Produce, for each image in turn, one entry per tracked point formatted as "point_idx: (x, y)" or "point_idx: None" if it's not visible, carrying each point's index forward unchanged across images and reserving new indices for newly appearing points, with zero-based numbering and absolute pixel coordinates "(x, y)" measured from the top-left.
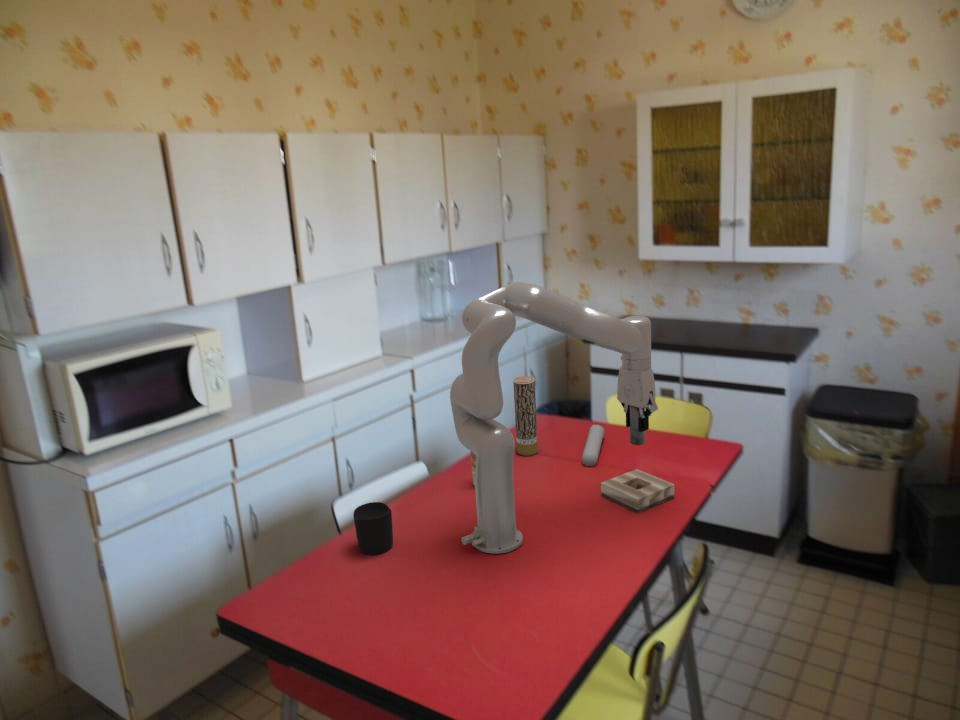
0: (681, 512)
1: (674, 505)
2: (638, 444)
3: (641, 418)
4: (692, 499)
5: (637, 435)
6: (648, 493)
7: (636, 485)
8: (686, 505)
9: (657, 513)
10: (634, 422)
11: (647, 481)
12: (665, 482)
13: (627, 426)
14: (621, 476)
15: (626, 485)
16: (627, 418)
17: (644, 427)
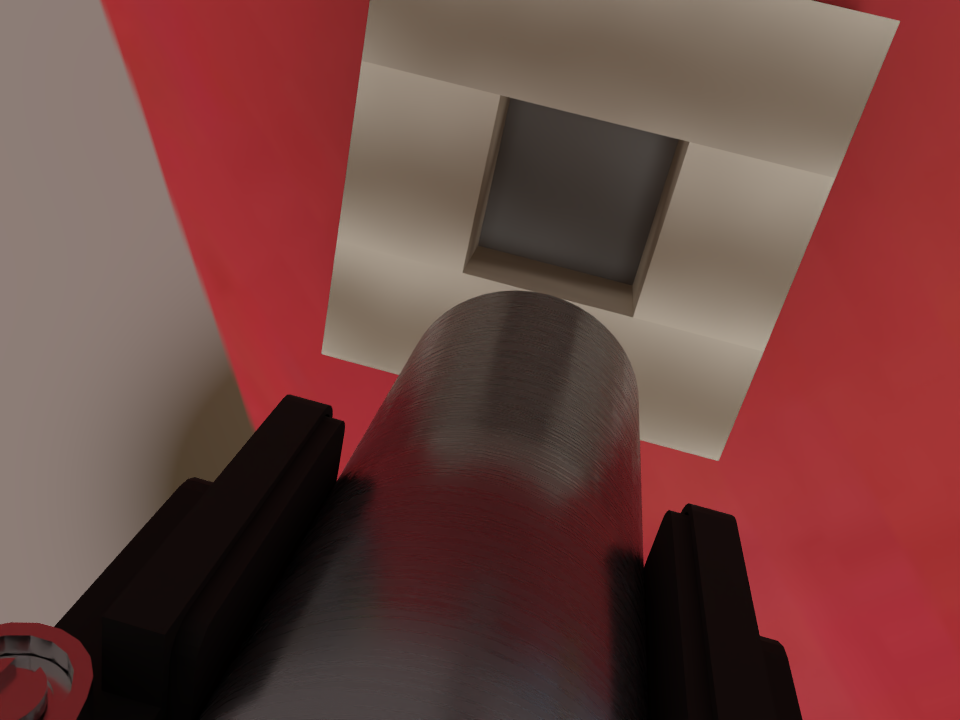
0: (195, 139)
1: (291, 209)
2: (443, 314)
3: (114, 642)
4: (258, 352)
5: (419, 378)
6: (382, 84)
7: (634, 284)
8: (234, 254)
9: (305, 16)
10: (398, 527)
11: None
12: (393, 351)
13: (691, 514)
14: (770, 266)
15: (634, 118)
16: (707, 669)
17: (183, 488)
